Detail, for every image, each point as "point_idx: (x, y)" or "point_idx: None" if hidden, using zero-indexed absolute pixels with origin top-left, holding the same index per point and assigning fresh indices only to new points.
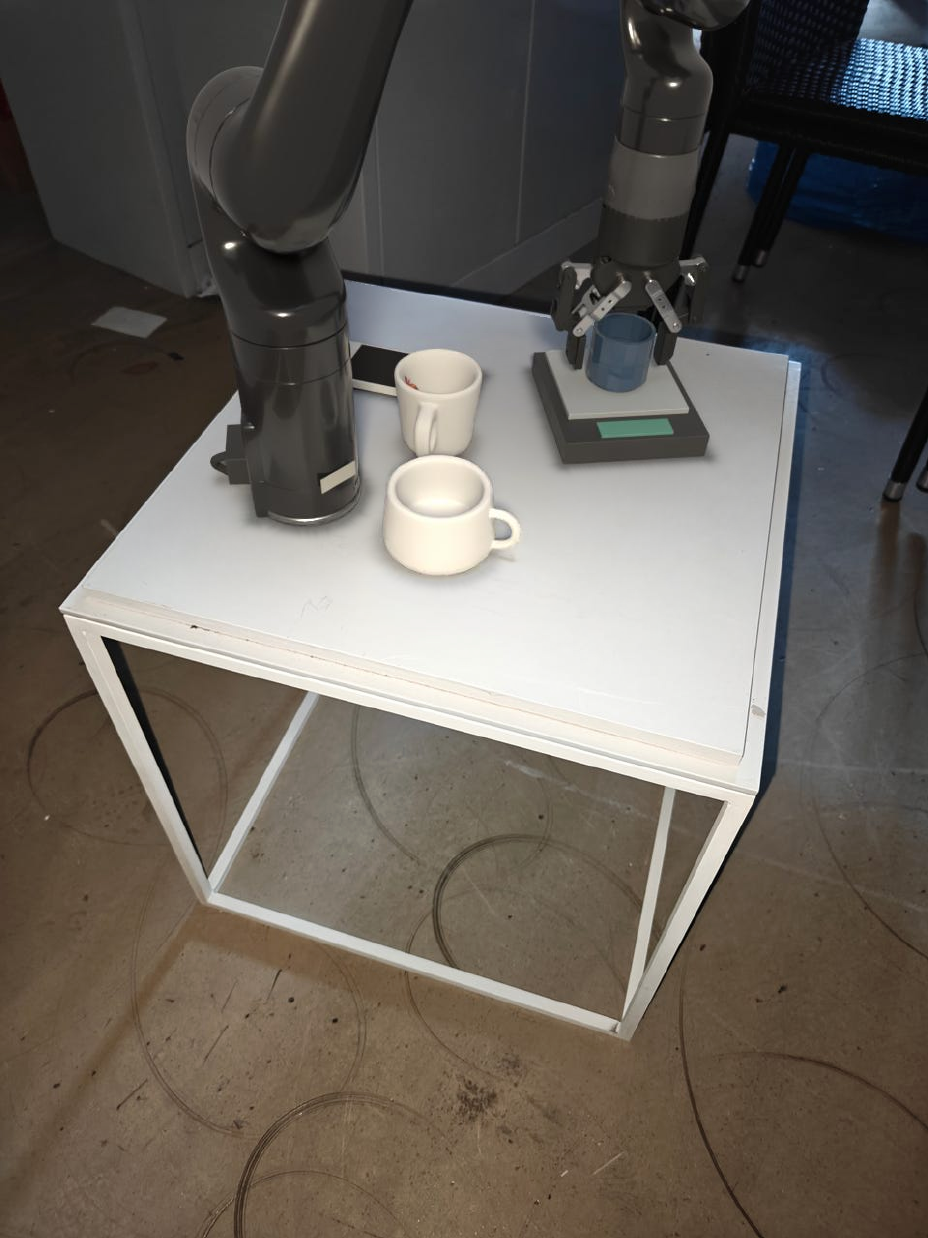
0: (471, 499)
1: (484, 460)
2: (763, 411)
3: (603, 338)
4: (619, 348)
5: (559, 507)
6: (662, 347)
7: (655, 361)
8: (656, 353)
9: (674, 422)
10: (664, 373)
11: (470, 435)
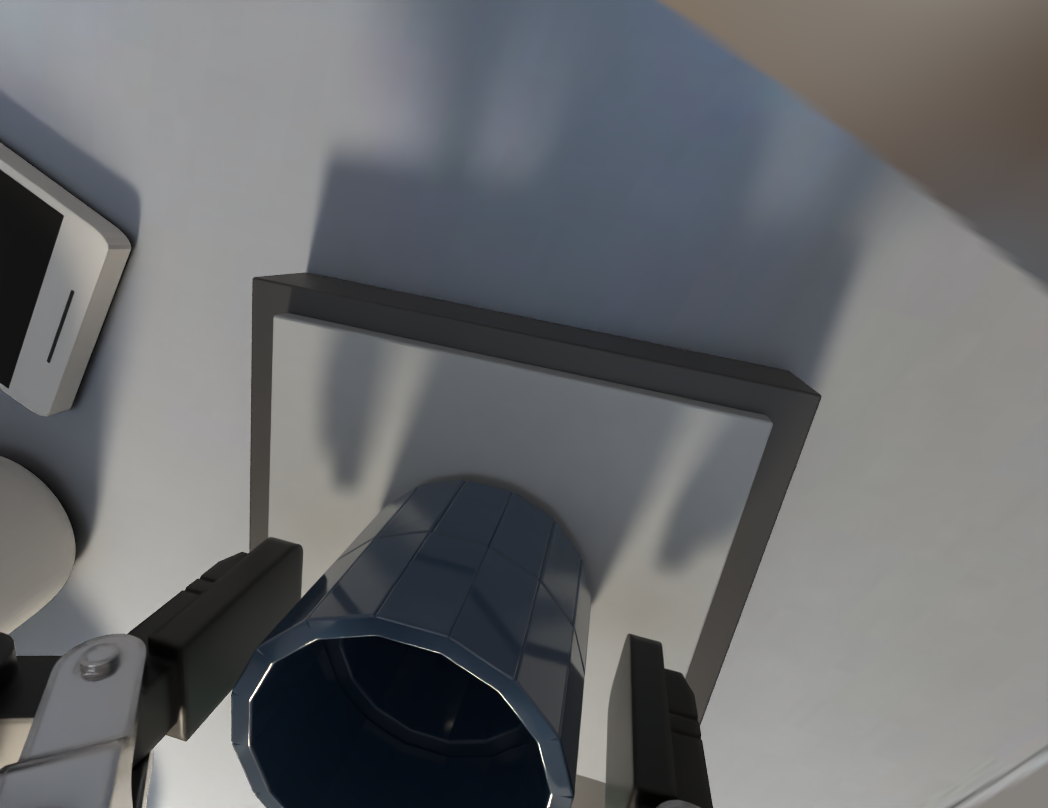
0: None
1: (119, 608)
2: (983, 721)
3: (255, 791)
4: None
5: (248, 783)
6: (606, 783)
7: (618, 663)
8: (621, 681)
9: (576, 789)
10: (677, 615)
11: (31, 614)
